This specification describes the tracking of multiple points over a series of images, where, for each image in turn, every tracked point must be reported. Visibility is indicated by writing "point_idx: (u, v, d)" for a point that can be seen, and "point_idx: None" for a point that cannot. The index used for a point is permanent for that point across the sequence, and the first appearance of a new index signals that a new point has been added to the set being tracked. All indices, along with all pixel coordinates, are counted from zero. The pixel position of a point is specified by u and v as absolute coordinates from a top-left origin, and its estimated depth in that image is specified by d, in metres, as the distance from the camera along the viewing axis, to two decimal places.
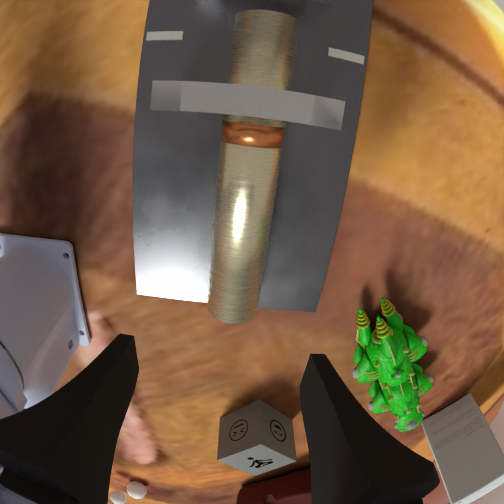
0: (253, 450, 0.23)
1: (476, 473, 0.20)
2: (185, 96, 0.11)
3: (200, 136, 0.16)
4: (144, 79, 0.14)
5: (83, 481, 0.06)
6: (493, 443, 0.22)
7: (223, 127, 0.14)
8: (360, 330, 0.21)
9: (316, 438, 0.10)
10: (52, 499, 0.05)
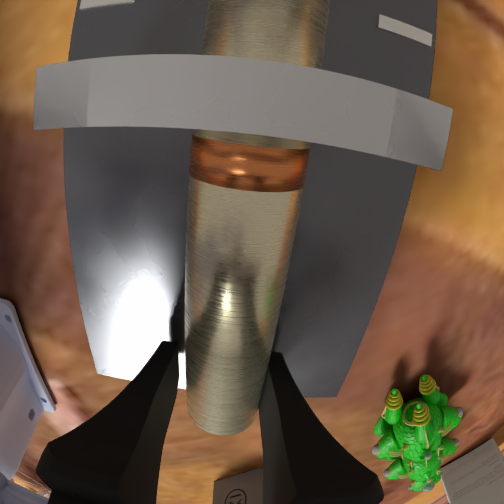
0: None
1: None
2: (96, 92, 0.04)
3: (163, 161, 0.10)
4: None
5: (141, 497, 0.06)
6: None
7: (192, 148, 0.07)
8: (390, 410, 0.15)
9: (267, 438, 0.10)
10: None
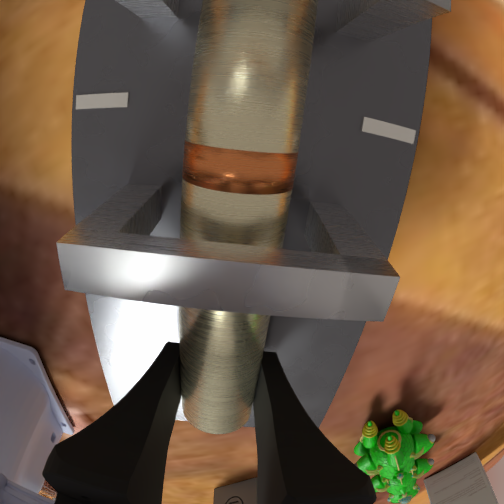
0: None
1: None
2: (113, 275, 0.06)
3: None
4: (79, 172, 0.10)
5: (148, 498, 0.07)
6: None
7: None
8: (366, 437, 0.17)
9: (261, 438, 0.10)
10: None
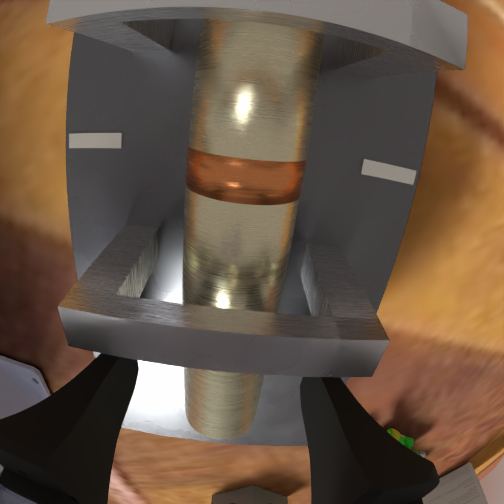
0: None
1: None
2: (115, 338, 0.06)
3: (165, 296, 0.12)
4: (76, 211, 0.10)
5: (83, 481, 0.06)
6: None
7: (187, 160, 0.08)
8: None
9: (316, 438, 0.10)
10: (52, 499, 0.05)
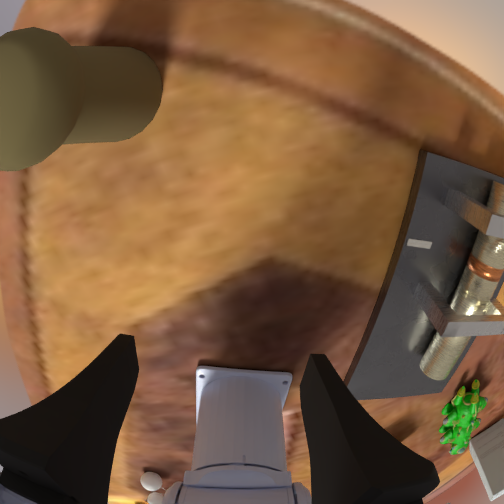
0: None
1: None
2: (460, 329, 0.17)
3: (420, 312, 0.22)
4: (398, 275, 0.20)
5: (83, 481, 0.06)
6: None
7: (486, 270, 0.17)
8: (458, 397, 0.27)
9: (316, 438, 0.10)
10: (52, 499, 0.05)
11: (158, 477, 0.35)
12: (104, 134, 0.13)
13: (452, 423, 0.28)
